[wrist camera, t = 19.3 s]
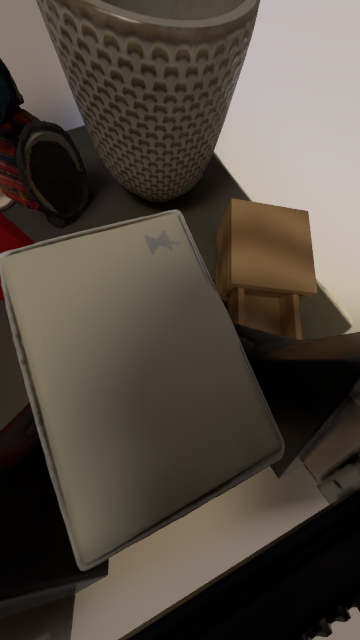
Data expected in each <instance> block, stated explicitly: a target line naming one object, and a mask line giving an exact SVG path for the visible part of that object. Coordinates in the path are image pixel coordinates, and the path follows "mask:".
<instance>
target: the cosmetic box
mask: <svg viewBox="0 0 360 640" xmlns="http://www.w3.org/2000/svg"><path fill="white" fill-rule="evenodd" d="M0 276H1V286H2V289H3V293H4V297H5V303H6V310H7V313H8V316H9V322H10V326H11V330H12V334H13V341H14V344H15V347H16V351H17V355H18V359H19V363H20V367H21V370H22V373H23V378H24V382H25V386H26V390H27V394H28V397H29V401H30V404H31V408H32V412H33V415H34V419H35V423H36V426H37V430H38V434H39V438H40V441H41V446H42V448H43V451H44V454H45V458H46V463H47V466H48V470H49V473H50V477H51V480H52V483H53V486H54V489H55V492H56V495H57V498H58V503H59V507H60V510H61V513H62V516H63V519H64V522H65V525H66V528H67V532H68V535H69V539H70V542H71V545H72V549H73V552H74V556H75V560H76V563H77V566H78V567H79V569H80V570H81V571H87V570H89V569H91V568H93V567H95V566H97V565H98V564H100V563H102V562H103V561H105V560H107V559H108V558H110V557H112V556H113V555H115V554H117V553H118V552H120V551H122V550H123V549H125V548H127V547H129V546H130V545H132V544H134V543H136V542H138V541H140V540H142V539H144V538H146V537H148V536H150V535H151V534H153V533H154V532H156V531H158V530H159V529H161V528H163V527H165V526H167V525H169V524H170V523H172V522H174V521H176V520H178V519H179V518H182V517H184V516H186V515H187V514H188V513H190V512H192V511H194V510H195V509H197V508H199V507H200V506H202V505H203V504H205V503H207V502H208V501H210V500H211V499H213V498H215V497H217V496H219V495H221V494H223V493H225V492H226V491H228V490H229V489H231V488H233V487H235V486H237V485H238V484H240V483H242V482H243V481H245V480H247V479H248V478H250V477H252V476H253V475H255V474H257V473H258V472H260V471H262V470H263V469H265V468H267V467H268V466H270V465H272V464H274V463H275V462H277V461H279V460H280V459H281V458H282V457H283V454H284V451H285V443H284V440H283V437H282V435H281V433H280V431H279V429H278V426H277V424H276V422H275V420H274V417H273V415H272V413H271V411H270V408H269V406H268V404H267V401H266V399H265V397H264V395H263V392H262V390H261V388H260V386H259V383H258V381H257V379H256V377H255V374H254V372H253V370H252V368H251V366H250V363H249V361H248V359H247V357H246V355H245V352H244V349H243V347H242V345H241V342H240V340H239V338H238V335H237V333H236V330H235V328H234V325H233V323H232V320H231V318H230V316H229V314H228V312H227V310H226V308H225V306H224V304H223V302H222V300H221V298H220V296H219V294H218V292H217V290H216V288H215V286H214V284H213V282H212V279H211V277H210V275H209V272H208V270H207V268H206V266H205V263H204V261H203V259H202V257H201V255H200V253H199V251H198V248H197V246H196V244H195V242H194V239H193V237H192V235H191V233H190V231H189V229H188V227H187V224H186V222H185V219H184V216H183V215H182V213H181V212H180V211H179V210H170V211H165V212H162V213H158V214H155V215H151V216H145V217H140V218H136V219H132V220H127V221H123V222H118V223H114V224H110V225H106V226H102V227H98V228H93V229H89V230H84V231H80V232H77V233H73V234H68V235H64V236H60V237H56V238H53V239H49V240H45V241H41V242H38V243H35V244H32V245H29V246H25V247H22V248H18V249H13V250H9V251H5V252H3V253H1V254H0Z"/></svg>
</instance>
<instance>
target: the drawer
mask: <svg viewBox="0 0 360 640" xmlns="http://www.w3.org/2000/svg"><path fill="white" fill-rule="evenodd" d="M227 312H228V314H229V316H230V318H231V320H232V322H235V323H238V324H241V325H244V326H247V327H250V328H254V329H258V330H261V331H265V332H269V333H273V334H277V335H281V336H285V337H289V338H293V339H299V340H302V331H301V319H300V308H299V296H298V294H293V293H284V292H275V291H266V290H258V289H249V288H240V287H235V288H234V289H233V290H231V291H230V292H229V293H228V310H227Z"/></svg>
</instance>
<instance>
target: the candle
mask: <svg viewBox="0 0 360 640" xmlns="http://www.w3.org/2000/svg"><path fill="white" fill-rule="evenodd" d="M14 202H15V201H13V200H12V199H10V198H8V197H6V195H5V194H3V193H2V190H1V189H0V211H1V210H5V209H7V208H9V207H10V206H11V205H13V203H14Z"/></svg>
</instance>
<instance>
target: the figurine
mask: <svg viewBox="0 0 360 640" xmlns="http://www.w3.org/2000/svg"><path fill="white" fill-rule="evenodd" d="M23 103H24V100H23V97H22V95H21V94H20V93H19V91H18V89H17V86H16V84H15V82H14V80H13V78H12V76H11V74H10V72H9V70H8V69H7V67H6V65H5V64H4V63H3V61H2V60H1V58H0V189H1V190H2V193H3V194H5V195H6V197H8V198H10V199H12V200H13V201H15V202H17V203H18V204H20V205H21V206H22V207H23V208H29V209H35V210H38V211H41V212H45V213H46V215H47V220H48V222H49V223H50V224H52V225H53V226H54V227H56V228H63V227H65V226H67V225H68V224H70V223H71V222H72V221H74V220H75V219H76V218H77V217H78V216H80V215H81V214H82V212H83V211H84V210H85V209H86V207H87V206H88V204H89V202H90V200H91V197H92V196H91V193H90V191H89V190H88V188H87V183H88V182H87V177H86V170H85V168H84V164H83V162H82V159H81V156H80V154H79V152H78V150H77V148H76V147H75V145H74V143H73V141H72V139H71V137H70V136H69V134H68V133H66V132H65V131H64V130H63V129H62V128H61V127H60V126H58V125H57V124H55V123H49V122H46V121H43V122H42V121H40V120H39V119H38V118H36V117H35V116H33V115H32V114H30V113H28V112H27V111H26V110H24V109H21V108H20V106H19V105H21V104H23Z"/></svg>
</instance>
